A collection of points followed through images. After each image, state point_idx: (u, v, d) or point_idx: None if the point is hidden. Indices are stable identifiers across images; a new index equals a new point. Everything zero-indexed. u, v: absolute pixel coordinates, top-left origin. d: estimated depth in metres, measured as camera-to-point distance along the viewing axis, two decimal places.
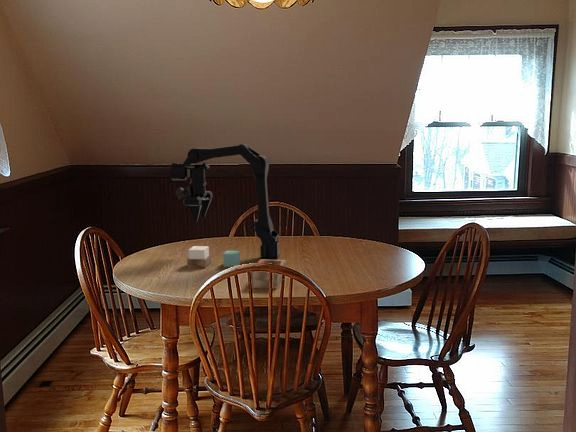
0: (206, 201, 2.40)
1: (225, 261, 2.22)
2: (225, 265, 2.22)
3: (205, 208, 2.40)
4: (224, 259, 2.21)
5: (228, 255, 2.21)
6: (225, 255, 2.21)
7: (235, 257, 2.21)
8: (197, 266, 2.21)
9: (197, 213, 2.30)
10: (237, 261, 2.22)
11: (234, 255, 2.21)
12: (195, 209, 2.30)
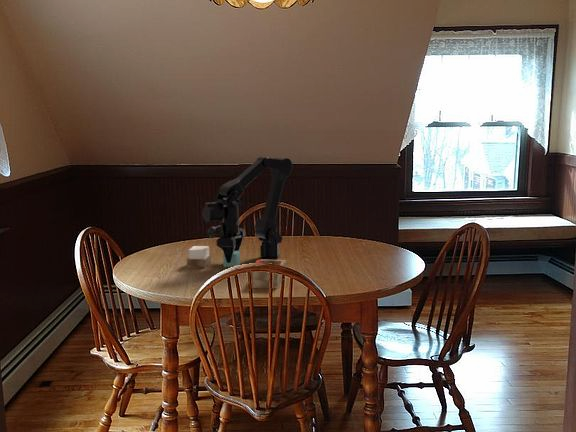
0: (238, 239, 2.27)
1: (225, 261, 2.22)
2: (225, 265, 2.22)
3: (237, 247, 2.27)
4: (224, 259, 2.21)
5: None
6: None
7: (235, 257, 2.21)
8: (197, 266, 2.21)
9: (230, 254, 2.17)
10: (237, 261, 2.22)
11: (234, 255, 2.21)
12: (228, 250, 2.17)
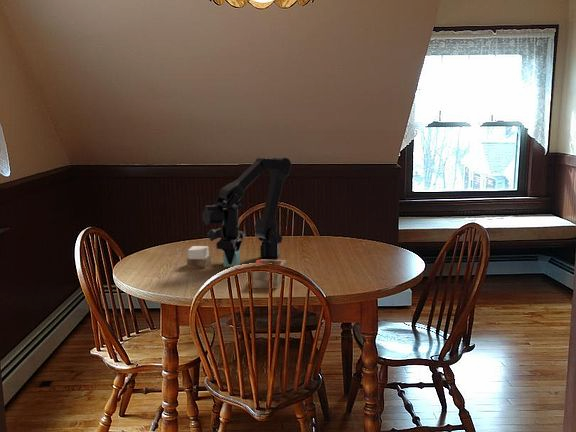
0: (237, 243, 2.25)
1: (225, 261, 2.22)
2: (225, 265, 2.22)
3: None
4: (224, 259, 2.21)
5: None
6: (225, 255, 2.21)
7: (235, 257, 2.21)
8: (197, 266, 2.21)
9: (232, 255, 2.19)
10: (237, 261, 2.22)
11: (234, 255, 2.21)
12: (230, 251, 2.19)
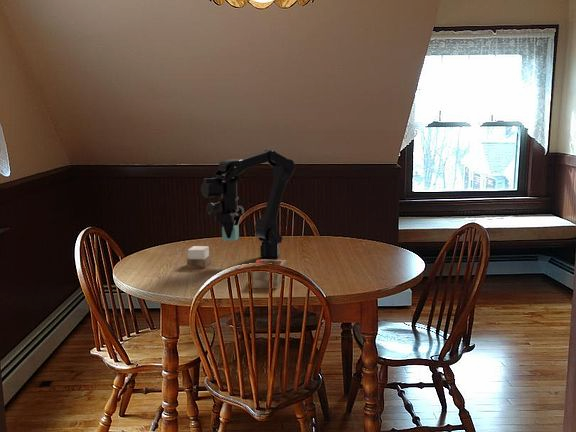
0: (236, 218, 2.24)
1: (224, 235, 2.20)
2: (224, 239, 2.20)
3: None
4: (223, 233, 2.20)
5: None
6: (224, 229, 2.19)
7: (234, 231, 2.19)
8: (197, 266, 2.20)
9: (231, 229, 2.17)
10: (236, 235, 2.20)
11: (233, 229, 2.19)
12: (228, 225, 2.17)
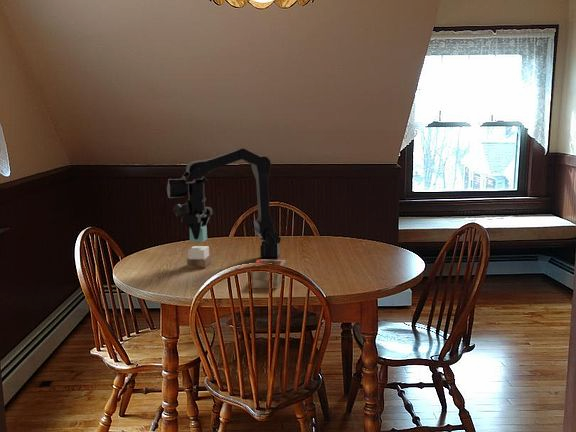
0: (204, 219, 2.24)
1: (191, 236, 2.20)
2: (191, 240, 2.20)
3: None
4: (190, 234, 2.20)
5: None
6: (191, 230, 2.20)
7: (201, 232, 2.19)
8: (197, 266, 2.20)
9: (198, 230, 2.18)
10: (203, 236, 2.21)
11: None
12: (196, 226, 2.17)
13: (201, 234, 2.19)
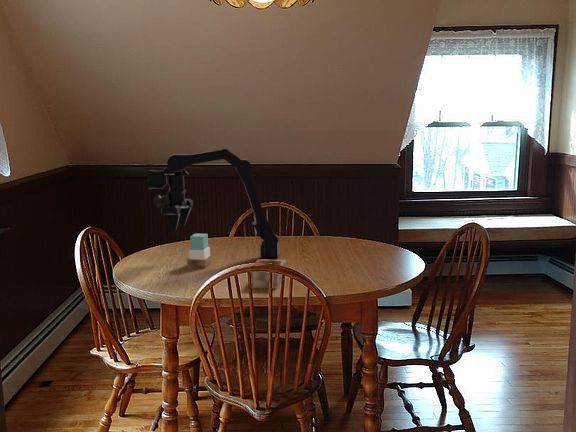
0: (186, 209, 2.31)
1: (192, 244, 2.21)
2: (192, 248, 2.21)
3: (185, 217, 2.31)
4: (191, 242, 2.21)
5: (195, 238, 2.20)
6: (192, 238, 2.20)
7: (202, 240, 2.20)
8: (197, 266, 2.21)
9: (176, 222, 2.21)
10: (204, 244, 2.21)
11: (201, 238, 2.20)
12: (173, 218, 2.21)
13: (202, 242, 2.20)
